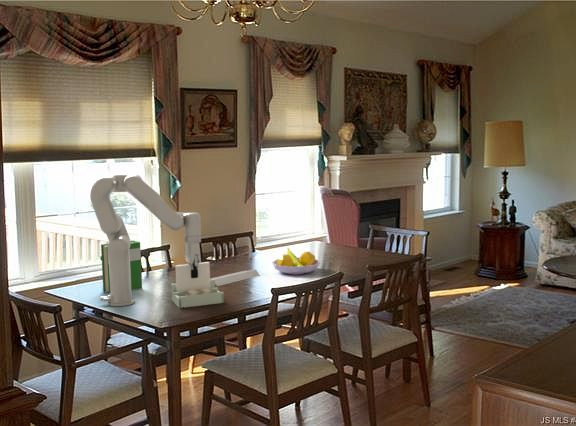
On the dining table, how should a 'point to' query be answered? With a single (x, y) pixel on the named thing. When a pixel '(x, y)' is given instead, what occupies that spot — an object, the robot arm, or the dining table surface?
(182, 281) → the sheet
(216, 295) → the tray
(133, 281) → the hardback book
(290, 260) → the fruit bowl
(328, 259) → the dining table surface
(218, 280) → the crown molding
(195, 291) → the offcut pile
